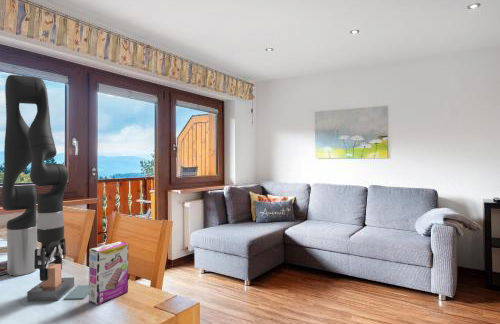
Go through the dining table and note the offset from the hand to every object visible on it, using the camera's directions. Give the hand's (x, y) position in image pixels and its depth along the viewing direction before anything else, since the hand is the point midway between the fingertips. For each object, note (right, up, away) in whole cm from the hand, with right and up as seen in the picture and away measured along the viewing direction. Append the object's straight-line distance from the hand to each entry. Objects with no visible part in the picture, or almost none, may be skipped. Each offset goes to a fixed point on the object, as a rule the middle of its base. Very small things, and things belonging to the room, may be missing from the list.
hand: (51, 275), depth 104 cm
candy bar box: (+20, -6, -2) cm, 21 cm away
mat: (+9, -6, +1) cm, 11 cm away
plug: (0, -6, 0) cm, 6 cm away
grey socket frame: (0, -6, 0) cm, 6 cm away
